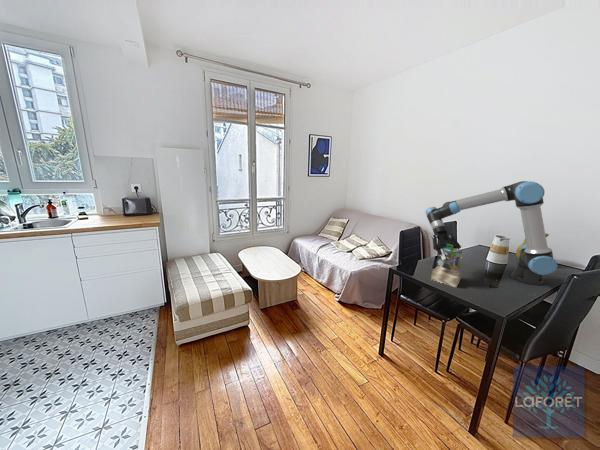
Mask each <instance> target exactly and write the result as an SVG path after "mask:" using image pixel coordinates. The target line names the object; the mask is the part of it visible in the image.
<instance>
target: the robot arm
mask: <svg viewBox="0 0 600 450" xmlns="http://www.w3.org/2000/svg"><path fill="white" fill-rule="evenodd" d="M544 196H545V189H544V186H542V184H540V183H538V182H537V181H532V180H531V181H530V180H529V181H528V180H527V181H526V180H524V181H523V180H522V181H518V182H515V183H512V184H509V185H505V186H502V187H501V188H500V189H495V190H491V191H487V192H484V193H480V194H477V195H472V196H468V197H464V198H459V199H456V200H451V201H447V202H444V203H443V204H442V206H440V207H436V206H430V207H428V208H427V209H426V210H425V215H426V218H427V220H428V223H429V224H430V225H429V226H431V230H432V233H433V235H431V238H432V247H433V250H435V251H436V252H437V254H438V253H439V255H440V256H441V258H442V260H445V259H446V257H445V254H444V252H443V250H442V249H441V248H442V243H443V242H445V243H446V244H451V245H453V247H454V248H455V249H458V250H460V249H461V248H462V245H461V244H460V243H459V242H458V240H457V239H456V238H455V237H454V234H452V233H451V234H448V229H447V228H446V226H445V223H444V221H443V219H445V218H447V217H450V216H453V215H456V214H458V213H460V212H461V211H463V210H468V209H473V208H477V207H481V206H486V205H490V204H494V203H499V202H504V201H505V202H510V201H514V202H515V207H516V208H518V209H519V210H520V215H521V222H522V225H523V226H522V227H523V232H524V237H525V238H526V244H527V245H523V246H522V248H521V252H520V256H519V258H518V260H519V261H518V260H517V265H516V266H515V269H514V270H513V271H512V272H511V278H512V279H513V280H516V281H518V282H520V283H524V284H527V285H534V286H540V285H543V283H544V276H545V275H546V276H547V275H550V274H553V273H554V272H555V271H557V268H558V262H557V260H556V259H555V258H554V254H553V250H552V248H551V247H549V246H548V242H547V237H546V235H545V233H546V231H545V225H544V220H543V219H544V218H543V214H542V208H541V206H543V204H544ZM525 238H524V239H525ZM461 259H463V256H462V254H461ZM543 275H544V276H543Z"/></svg>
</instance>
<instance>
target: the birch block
mask: <svg viewBox="0 0 600 450" xmlns="http://www.w3.org/2000/svg"><path fill="white" fill-rule="evenodd" d="M462 273H463V271H461V270H456V269H451V270H448V269H445V268H443V267H441V266H439V265H436V267H434V268H433V270H432V271H431V277H430V281H432V280H433V281H432V282H435V281H437V282H436V283H439V282H440V283H439V284H442V283H444V285H447V286H450V287H453V288H457V287H458V285H459V283H460V281H461V278H462Z"/></svg>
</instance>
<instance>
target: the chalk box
mask: <svg viewBox="0 0 600 450" xmlns="http://www.w3.org/2000/svg"><path fill="white" fill-rule="evenodd" d="M441 249H442V250H443V252H444V254H445V257H446V259H445V260H442V258H441V256H440V255H439V253H438V252H437V259H436V266H441V267H443V268H445V269H448V270H451V269H453V270H456V269H460V266H461V255H462V252H463V251H462V250H460V249H459V250H458V249H455V248H454V247H453V245H451V244H449V243H446V247H441Z"/></svg>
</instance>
